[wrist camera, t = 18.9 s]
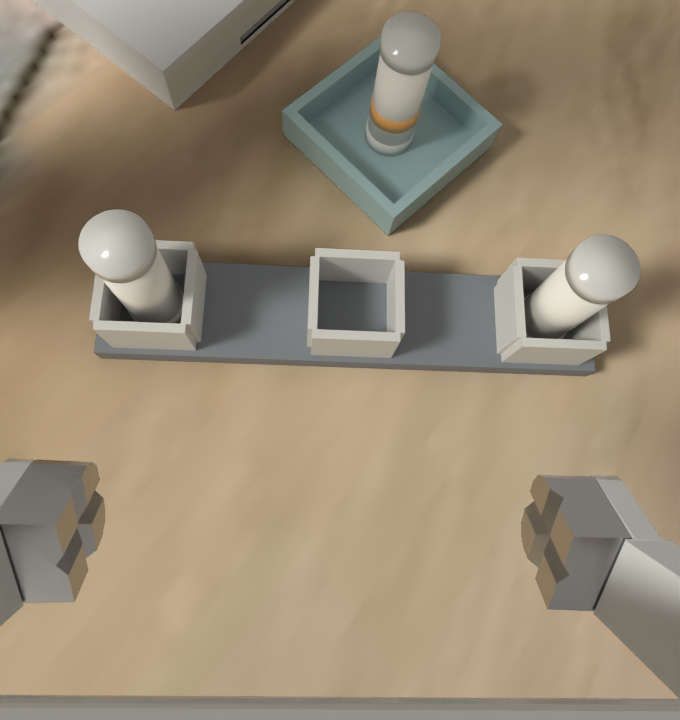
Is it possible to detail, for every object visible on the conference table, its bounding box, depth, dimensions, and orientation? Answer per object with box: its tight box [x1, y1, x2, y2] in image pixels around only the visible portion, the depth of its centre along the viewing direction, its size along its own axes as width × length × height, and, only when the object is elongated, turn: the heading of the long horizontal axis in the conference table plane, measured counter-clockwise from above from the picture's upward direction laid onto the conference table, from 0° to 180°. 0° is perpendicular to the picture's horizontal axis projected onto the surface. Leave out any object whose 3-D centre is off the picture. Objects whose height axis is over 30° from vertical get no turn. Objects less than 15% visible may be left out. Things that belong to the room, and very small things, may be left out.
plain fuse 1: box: [78, 209, 184, 324], centre depth 36 cm, size 4×4×10 cm
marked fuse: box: [365, 12, 441, 157], centre depth 42 cm, size 4×4×10 cm
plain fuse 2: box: [524, 234, 641, 339], centre depth 37 cm, size 4×4×10 cm
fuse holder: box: [89, 240, 611, 376], centre depth 40 cm, size 7×35×6 cm, turn 89°
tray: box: [282, 35, 503, 236], centre depth 46 cm, size 12×12×3 cm
